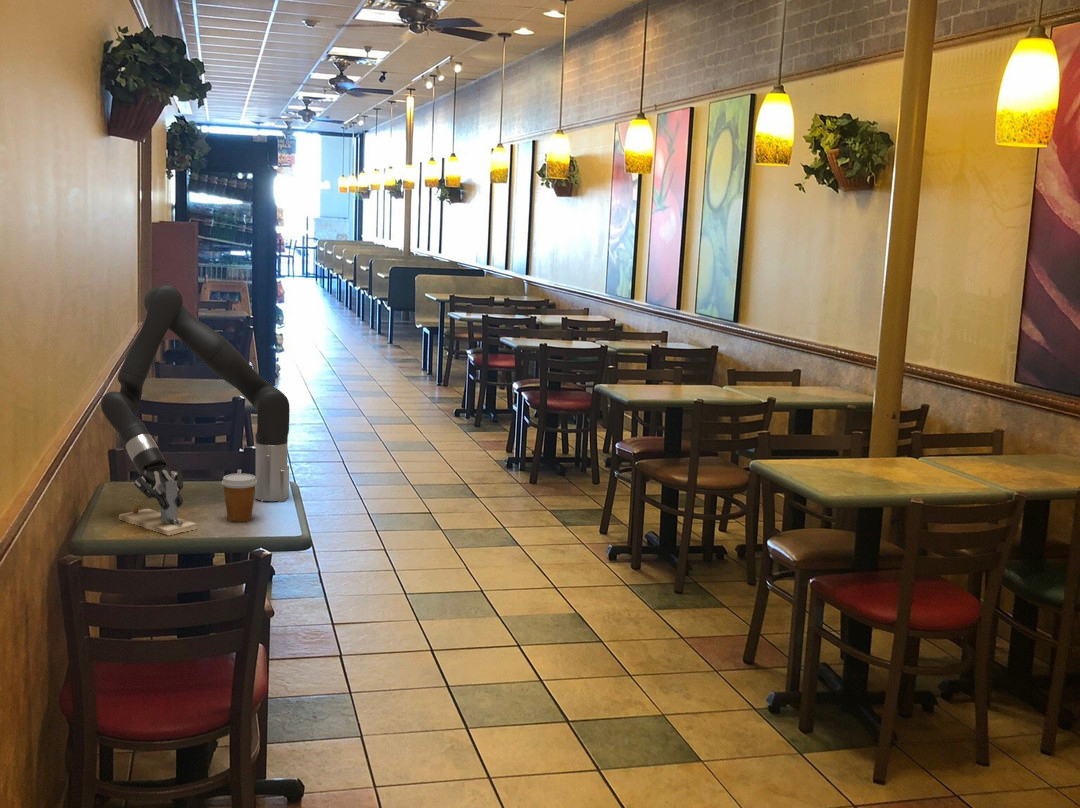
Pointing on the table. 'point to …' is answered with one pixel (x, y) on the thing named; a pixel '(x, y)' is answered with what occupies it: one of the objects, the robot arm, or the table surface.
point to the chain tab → (170, 502)
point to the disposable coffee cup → (239, 496)
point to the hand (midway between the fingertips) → (173, 506)
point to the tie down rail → (155, 521)
